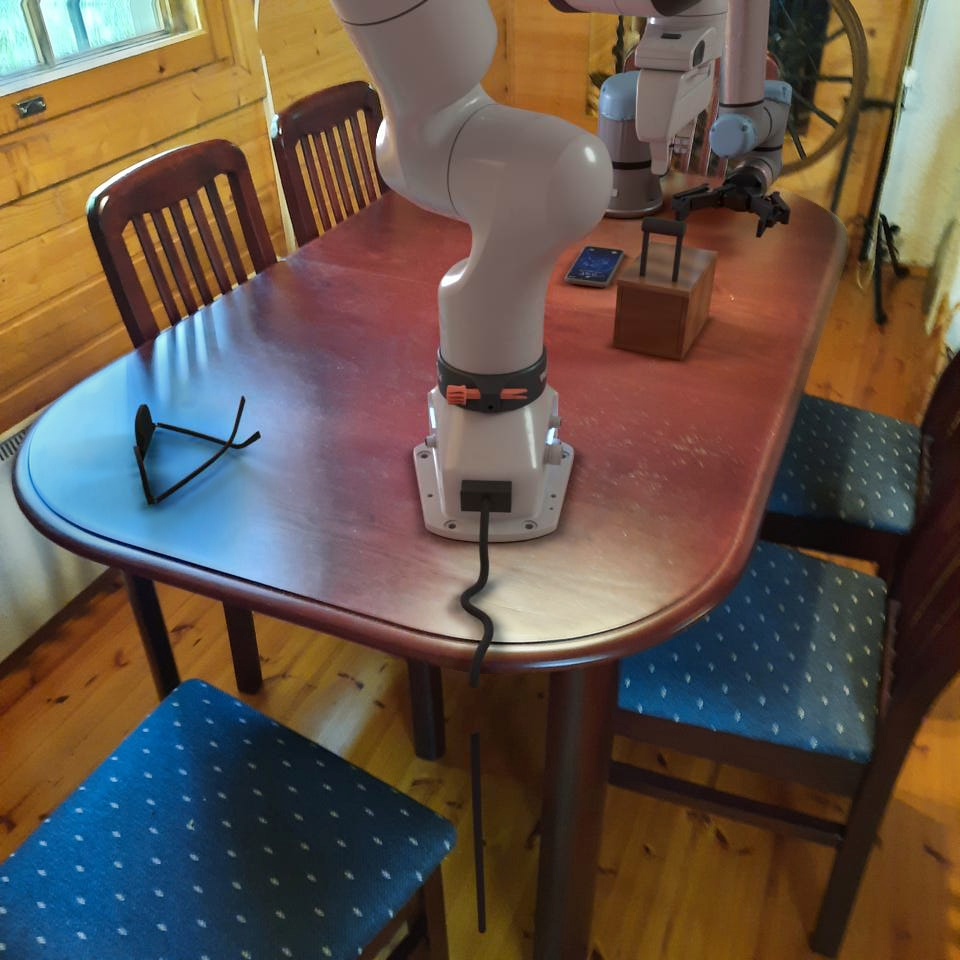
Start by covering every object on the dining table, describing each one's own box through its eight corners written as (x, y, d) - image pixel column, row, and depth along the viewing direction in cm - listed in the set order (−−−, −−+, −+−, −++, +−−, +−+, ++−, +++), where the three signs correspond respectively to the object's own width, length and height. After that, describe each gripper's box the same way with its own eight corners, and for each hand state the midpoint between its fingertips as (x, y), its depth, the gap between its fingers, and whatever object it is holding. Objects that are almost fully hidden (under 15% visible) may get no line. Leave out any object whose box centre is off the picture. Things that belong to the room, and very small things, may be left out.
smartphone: (626, 249, 148) (607, 284, 137) (625, 255, 149) (607, 289, 137) (584, 244, 150) (562, 278, 139) (584, 249, 151) (562, 283, 139)
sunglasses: (270, 486, 97) (262, 449, 94) (137, 510, 94) (125, 474, 91) (257, 411, 110) (250, 377, 107) (140, 430, 107) (130, 396, 104)
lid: (688, 298, 112) (697, 232, 107) (616, 285, 116) (621, 220, 111) (717, 257, 123) (726, 195, 118) (650, 246, 127) (656, 186, 121)
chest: (680, 360, 118) (689, 297, 113) (612, 346, 122) (617, 284, 116) (708, 317, 129) (717, 257, 123) (644, 306, 132) (650, 247, 127)
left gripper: (682, 22, 107) (670, 138, 115) (629, 53, 92) (619, 182, 100) (733, 25, 104) (717, 143, 113) (687, 57, 90) (672, 189, 98)
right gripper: (813, 215, 154) (790, 256, 139) (677, 198, 163) (642, 235, 148) (821, 172, 150) (799, 211, 134) (681, 157, 159) (646, 192, 144)
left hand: (671, 162), depth 106 cm, fingers open, 8 cm apart
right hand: (717, 224), depth 141 cm, fingers open, 13 cm apart
